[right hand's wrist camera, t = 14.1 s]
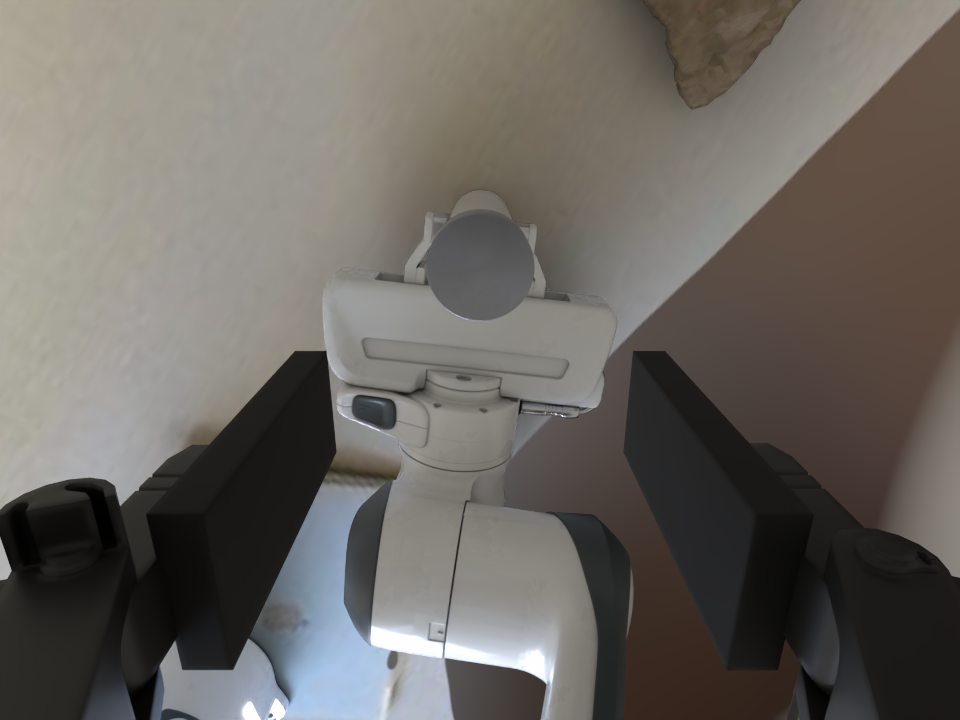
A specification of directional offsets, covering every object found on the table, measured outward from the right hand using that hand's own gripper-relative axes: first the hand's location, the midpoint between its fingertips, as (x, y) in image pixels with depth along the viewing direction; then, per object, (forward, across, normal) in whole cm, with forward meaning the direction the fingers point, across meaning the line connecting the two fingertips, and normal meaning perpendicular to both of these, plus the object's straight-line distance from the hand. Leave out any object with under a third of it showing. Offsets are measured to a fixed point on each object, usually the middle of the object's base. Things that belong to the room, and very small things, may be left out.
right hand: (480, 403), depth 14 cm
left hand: (+27, 0, -2) cm, 27 cm away
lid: (+15, 0, 0) cm, 15 cm away
